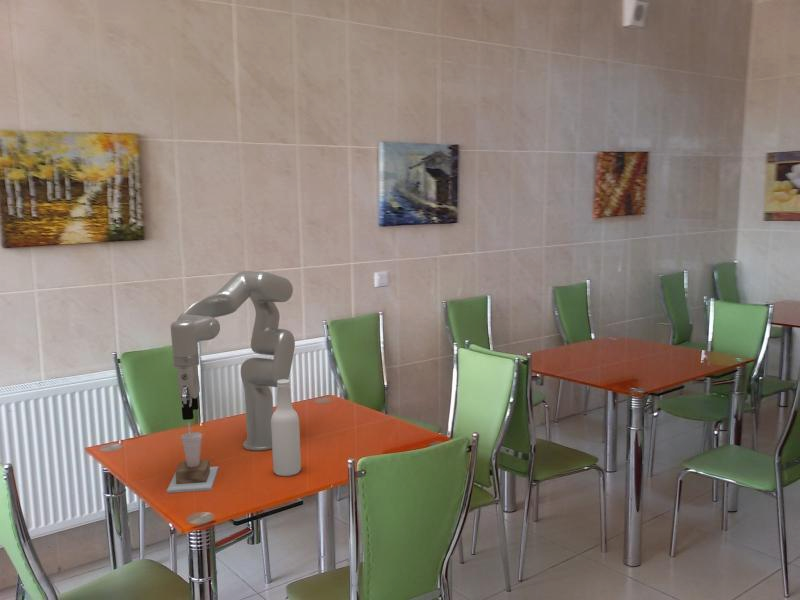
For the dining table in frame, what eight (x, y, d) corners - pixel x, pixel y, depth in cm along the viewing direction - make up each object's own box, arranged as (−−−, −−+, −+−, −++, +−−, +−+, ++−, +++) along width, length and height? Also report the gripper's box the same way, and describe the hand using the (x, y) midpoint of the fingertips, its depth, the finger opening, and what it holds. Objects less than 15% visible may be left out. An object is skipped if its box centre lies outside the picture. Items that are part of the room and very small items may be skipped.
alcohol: (278, 479, 230) (274, 385, 226) (269, 470, 238) (265, 379, 234) (305, 473, 234) (301, 381, 230) (295, 465, 242) (291, 375, 238)
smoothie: (184, 462, 233) (182, 419, 231) (205, 461, 234) (202, 418, 232) (180, 469, 227) (178, 425, 225) (202, 468, 227) (199, 424, 226)
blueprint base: (218, 468, 240) (217, 454, 240) (211, 490, 222) (210, 474, 222) (177, 471, 239) (176, 457, 238) (166, 493, 221) (165, 477, 220)
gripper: (194, 366, 217) (199, 422, 220) (202, 353, 234) (206, 405, 237) (168, 368, 216) (173, 424, 219) (178, 354, 233) (182, 406, 236)
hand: (190, 414), depth 228 cm, fingers open, 9 cm apart
